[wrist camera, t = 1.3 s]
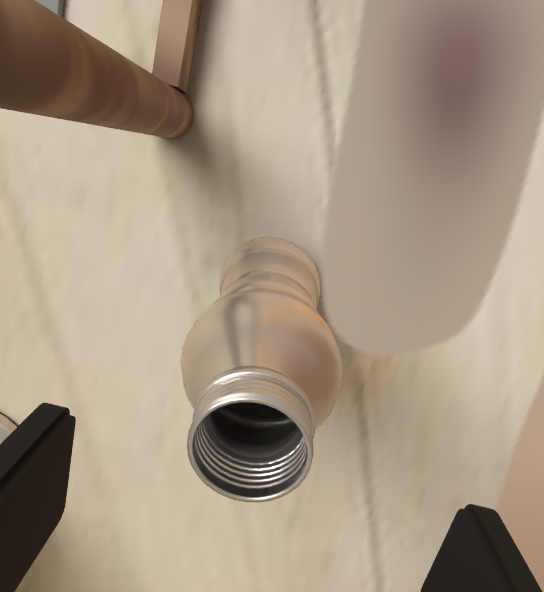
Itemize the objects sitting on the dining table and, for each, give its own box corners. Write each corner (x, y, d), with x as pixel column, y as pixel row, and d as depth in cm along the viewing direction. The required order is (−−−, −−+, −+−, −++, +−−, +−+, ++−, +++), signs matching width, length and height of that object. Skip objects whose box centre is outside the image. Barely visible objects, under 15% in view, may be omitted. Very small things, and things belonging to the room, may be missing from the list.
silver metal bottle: (249, 214, 31) (187, 305, 12) (335, 259, 31) (409, 414, 12) (210, 293, 32) (100, 486, 13) (292, 334, 33) (298, 572, 14)
